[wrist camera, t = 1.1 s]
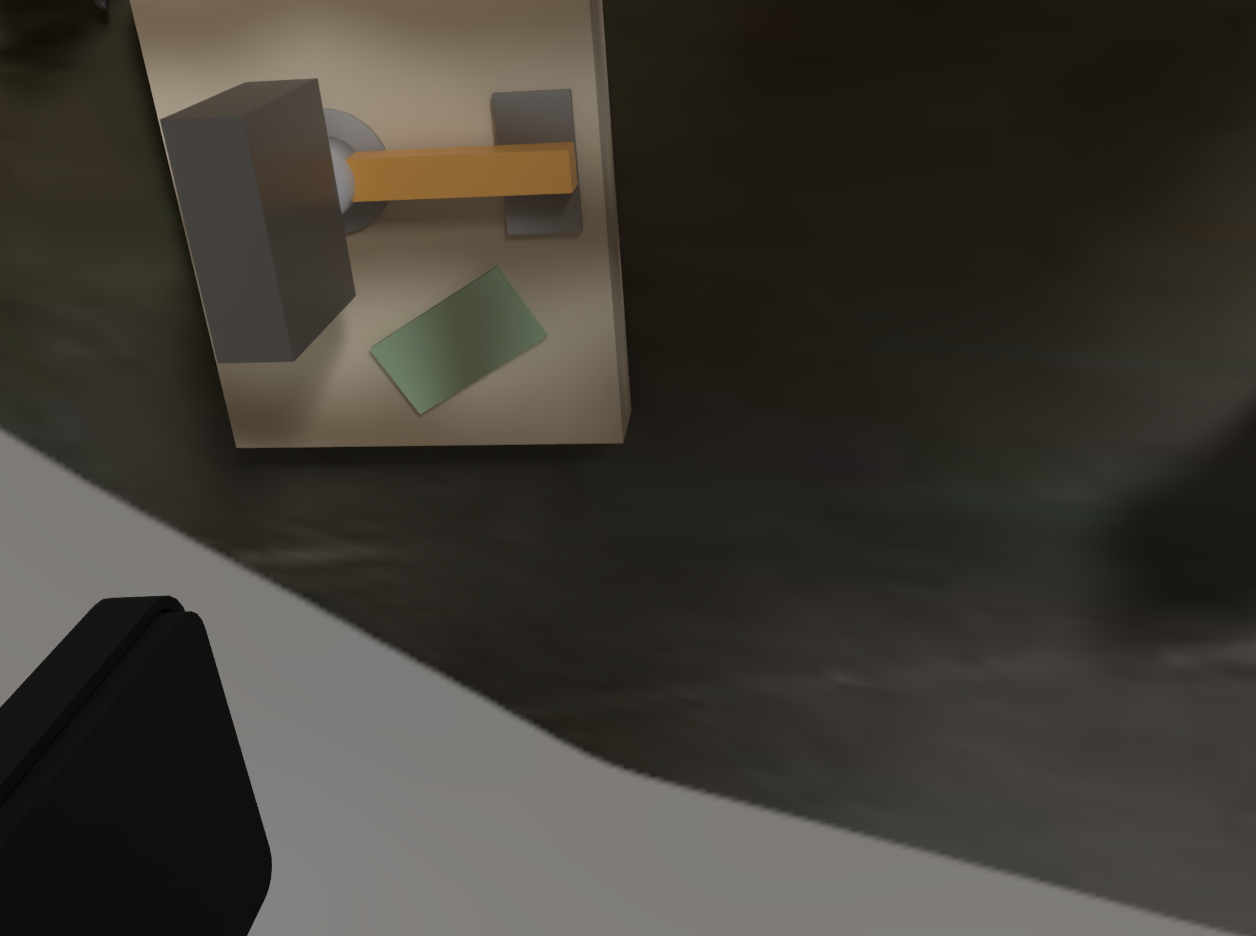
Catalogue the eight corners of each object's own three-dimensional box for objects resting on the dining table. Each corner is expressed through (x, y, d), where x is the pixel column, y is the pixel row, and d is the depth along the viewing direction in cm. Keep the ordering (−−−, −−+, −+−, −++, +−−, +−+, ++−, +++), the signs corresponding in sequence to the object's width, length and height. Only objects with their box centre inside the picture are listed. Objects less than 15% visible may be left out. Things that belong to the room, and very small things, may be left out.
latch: (312, 273, 36) (213, 363, 30) (272, 69, 34) (155, 119, 27) (584, 265, 35) (542, 356, 29) (566, 52, 33) (515, 101, 26)
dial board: (161, -46, 35) (115, -38, 33) (596, -75, 34) (582, -69, 31) (264, 416, 42) (232, 451, 40) (631, 410, 41) (622, 447, 38)
